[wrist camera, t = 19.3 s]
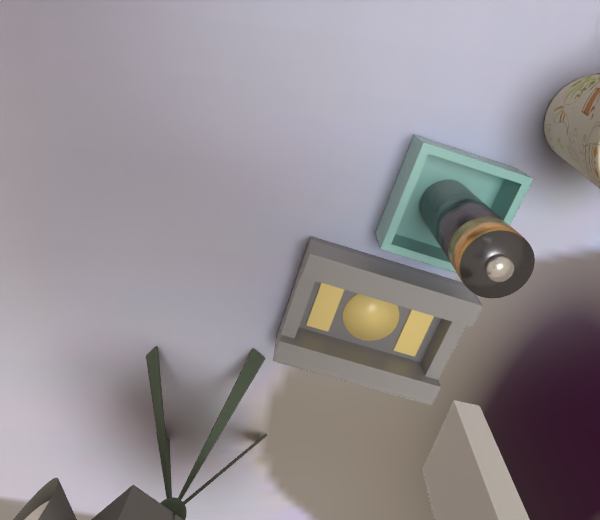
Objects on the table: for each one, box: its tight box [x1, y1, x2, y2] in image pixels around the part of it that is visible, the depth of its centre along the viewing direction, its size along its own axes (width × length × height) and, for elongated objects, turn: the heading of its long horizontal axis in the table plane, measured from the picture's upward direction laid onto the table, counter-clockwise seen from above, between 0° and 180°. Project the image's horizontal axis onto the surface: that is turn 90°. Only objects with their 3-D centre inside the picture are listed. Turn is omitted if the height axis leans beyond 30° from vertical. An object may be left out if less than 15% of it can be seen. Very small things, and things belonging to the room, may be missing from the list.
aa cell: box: [419, 180, 535, 298], centre depth 32 cm, size 4×4×13 cm
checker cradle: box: [273, 237, 483, 405], centre depth 41 cm, size 10×14×4 cm
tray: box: [375, 135, 533, 272], centre depth 37 cm, size 8×8×4 cm
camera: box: [13, 347, 267, 520], centre depth 35 cm, size 16×16×25 cm
